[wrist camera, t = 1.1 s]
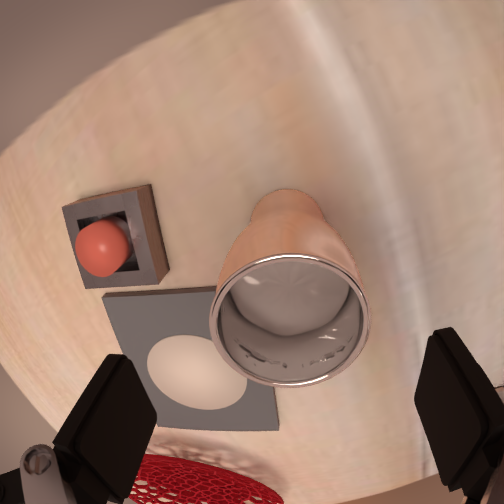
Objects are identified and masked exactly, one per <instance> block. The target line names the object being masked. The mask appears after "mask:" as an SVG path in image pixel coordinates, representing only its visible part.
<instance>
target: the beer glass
mask: <svg viewBox="0 0 504 504" xmlns="http://www.w3.org/2000/svg"><path fill="white" fill-rule="evenodd" d="M209 327H210V334H211V337H212V341H213V343H214V345H215V347H216V349H217V351H218V353H219V354H220V356H221V357H222V358H223V359H224V361H225V362H226V363H227V364H228V365H229V366H230V367H231V368H233V369H234V370H235V371H236V372H238V373H239V374H241V375H242V376H244V377H246V378H248V379H250V380H252V381H255V382H257V383H260V384H264V385H268V386H272V387H280V388H297V387H305V386H310V385H314V384H317V383H320V382H323V381H326V380H328V379H330V378H332V377H334V376H335V375H337V374H339V373H340V372H342V371H343V370H344V369H346V368H347V367H348V366H349V365H350V364H351V363H352V362H353V361H354V360H355V359H356V358H357V357H358V355H359V354H360V353H361V351H362V349H363V348H364V346H365V344H366V342H367V339H368V336H369V333H370V328H371V308H370V304H369V300H368V298H367V295H366V293H365V291H364V287H363V283H362V280H361V277H360V274H359V270H358V268H357V265H356V263H355V261H354V258H353V256H352V254H351V252H350V250H349V248H348V247H347V245H346V244H345V242H344V241H343V239H342V238H341V236H340V235H339V234H338V233H337V231H336V230H335V229H333V228H332V227H331V226H330V225H329V224H328V223H327V222H326V221H324V218H323V214H322V212H321V210H320V208H319V206H318V204H317V203H316V202H315V201H314V200H313V199H312V198H311V197H310V196H308V195H307V194H305V193H303V192H301V191H298V190H293V189H281V190H277V191H274V192H271V193H269V194H268V195H266V196H265V197H263V198H262V199H261V200H260V201H259V202H258V203H257V205H256V206H255V208H254V210H253V213H252V216H251V222H250V224H249V225H248V226H247V227H246V228H245V229H244V230H243V231H242V232H241V233H240V235H239V236H238V237H237V238H236V240H235V242H234V243H233V245H232V247H231V249H230V251H229V252H228V254H227V256H226V259H225V261H224V264H223V267H222V270H221V273H220V276H219V280H218V284H217V288H216V292H215V297H214V299H213V302H212V305H211V309H210V315H209Z"/></svg>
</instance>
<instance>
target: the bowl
mask: <svg viewBox="0 0 504 504" xmlns="http://www.w3.org/2000/svg"><path fill="white" fill-rule="evenodd" d="M137 476H138V477H137V478H136V479H135V481H138V480H142V481H147V483H148V484H147V485H137V484H136V483H134V484H133V486H134V487H136V488H132V490H131V491H135V492H136V493H137V494H130V495H129V498H130V499H132V500H133V501H135V502H136V503H138V504H146V503H147V502H151V503H152V504H156V503H159V504H178V503H176V502H179V503H182V504H188V503H194V504H202V503H201V502H200V501H202V502H207V503H208V504H246V503H244V502H243V501H246V500H250V501H251V502H253V503H255V504H276V503H279V504H284V501H283V499H282V498H281V497H280V496H279V495H278V494H277V493H276V492H275V491H274V490H272V489H270V488H269V487H267V486H266V485H264V484H262V483H260V482H258V481H255V480H253V479H251V478H249V477H246V476H243V475H240V474H237V473H235V472H232V471H229V470H226V469H222V468H219V467H215V466H211V465H207V464H204V463H200V462H195V461H190V460H185V459H181V458H176V457H169V456H162V455H153V454H144V457H143V460H142V462H141V465H140V468H139V470H138V473H137ZM135 481H134V482H135ZM149 486H151V487H155V488H156V489H157V490H155V489H150V488H149ZM160 486H163V487H165V488H166V489H164V488H161V487H160ZM138 489H146V490H147V491H148V492H147V493H143V492H140V491H139V490H138ZM187 490H190V491H191V492H190V491H187ZM150 493H156V494H158V495H155V496H154V495H151V494H150ZM166 493H174V494H178V495H177V496H172V495H169V494H166ZM138 496H143V497H144V498H141V497H138ZM146 496H148V497H150V498H148V497H146ZM252 496H255V497H259V498H261V499H262V500H256V499H255V498H253V497H252ZM161 497H164V498H167V499H170V500H173V501H171V502H162V501H159V500H158V499H157V498H161ZM137 499H138V500H137ZM239 499H240V500H239ZM139 500H142V501H143V502H144V503H142V502H141V501H139ZM153 500H154V501H153ZM267 500H269V501H271V502H272V503H271V502H269V501H267ZM175 501H176V502H175Z"/></svg>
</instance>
